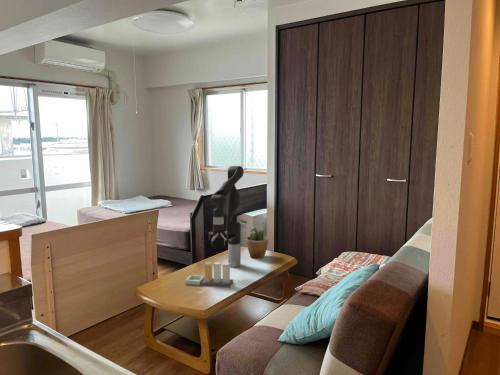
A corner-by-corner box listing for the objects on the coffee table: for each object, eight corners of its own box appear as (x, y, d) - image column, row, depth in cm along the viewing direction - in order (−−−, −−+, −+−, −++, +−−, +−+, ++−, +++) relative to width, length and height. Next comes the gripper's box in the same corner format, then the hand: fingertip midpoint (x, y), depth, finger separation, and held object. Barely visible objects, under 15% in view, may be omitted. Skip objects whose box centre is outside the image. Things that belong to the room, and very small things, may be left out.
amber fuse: (206, 279, 250) (206, 261, 248) (212, 279, 249) (212, 262, 248) (205, 281, 247) (204, 263, 245) (210, 281, 246) (210, 263, 244)
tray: (190, 279, 256) (190, 274, 255) (204, 280, 254) (204, 275, 253) (185, 284, 246) (185, 280, 246) (199, 285, 244) (199, 281, 244)
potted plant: (241, 258, 302) (241, 227, 299) (254, 252, 317) (253, 223, 314) (260, 262, 291) (260, 230, 288) (272, 255, 307) (272, 225, 304)
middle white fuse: (215, 279, 249) (215, 262, 247) (221, 280, 248) (220, 262, 246) (213, 281, 245) (213, 263, 244) (219, 282, 245) (219, 264, 243)
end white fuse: (224, 280, 247) (223, 262, 246) (230, 281, 247) (229, 263, 245) (222, 282, 244) (222, 264, 243) (228, 282, 243) (228, 264, 242)
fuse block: (205, 280, 253) (205, 274, 253) (233, 282, 249) (233, 276, 249) (201, 285, 244) (201, 279, 244) (229, 287, 241) (229, 281, 240)
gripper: (227, 221, 269) (227, 244, 270) (207, 222, 265) (208, 245, 266) (229, 223, 261) (229, 246, 263) (209, 224, 258) (209, 247, 259)
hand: (218, 246), depth 265 cm, fingers open, 8 cm apart
